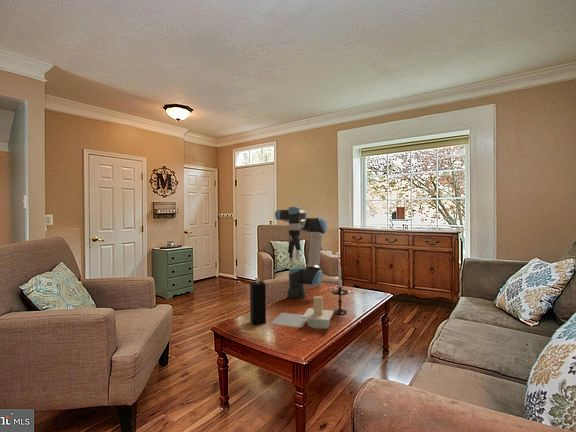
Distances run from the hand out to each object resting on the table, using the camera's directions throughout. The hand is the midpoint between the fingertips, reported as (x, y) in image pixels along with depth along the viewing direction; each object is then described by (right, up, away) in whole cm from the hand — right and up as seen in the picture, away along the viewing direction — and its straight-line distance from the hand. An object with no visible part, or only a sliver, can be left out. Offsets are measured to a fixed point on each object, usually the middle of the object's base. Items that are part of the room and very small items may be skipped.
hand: (294, 261), depth 199 cm
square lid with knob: (+14, -29, -22) cm, 39 cm away
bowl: (+14, -35, -22) cm, 44 cm away
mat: (-3, -35, -14) cm, 38 cm away
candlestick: (+30, -35, -1) cm, 46 cm away
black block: (-23, -36, -18) cm, 46 cm away
